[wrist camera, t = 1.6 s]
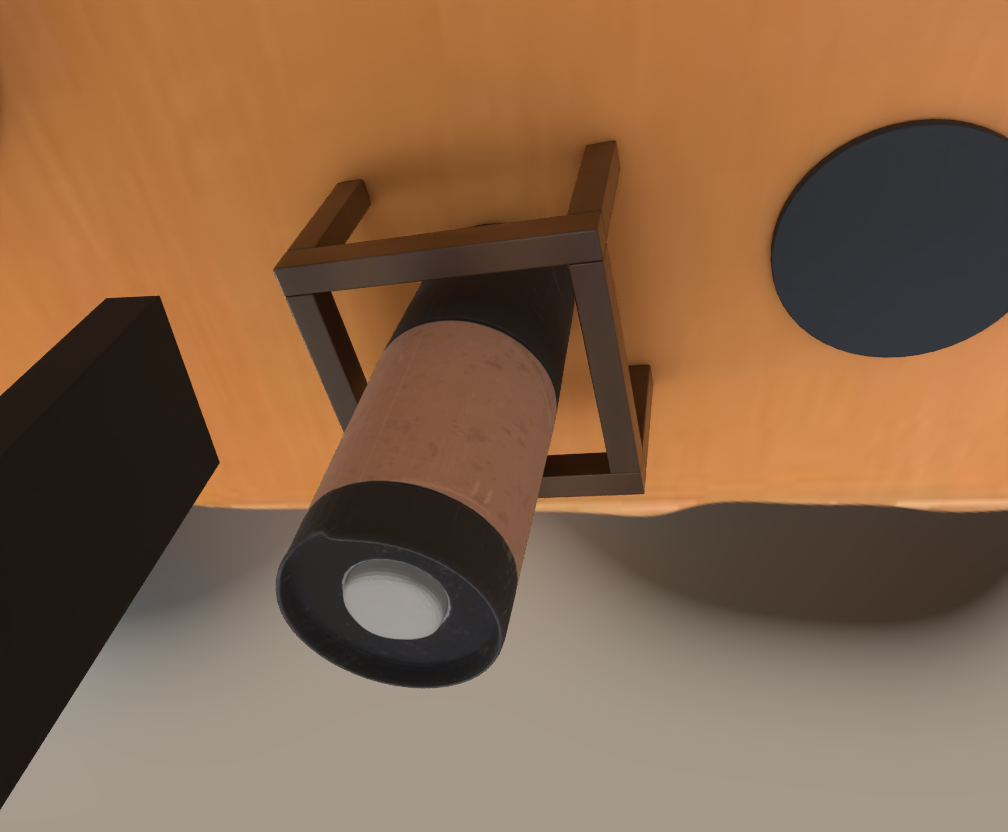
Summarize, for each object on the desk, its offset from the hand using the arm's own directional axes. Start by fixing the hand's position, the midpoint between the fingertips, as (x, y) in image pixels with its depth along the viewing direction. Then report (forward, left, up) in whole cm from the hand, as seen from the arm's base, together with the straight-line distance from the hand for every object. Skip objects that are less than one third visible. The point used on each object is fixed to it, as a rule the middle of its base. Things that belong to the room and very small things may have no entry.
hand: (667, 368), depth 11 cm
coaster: (+8, -14, -27) cm, 31 cm away
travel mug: (-10, -14, -27) cm, 32 cm away
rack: (-10, -14, -27) cm, 32 cm away
